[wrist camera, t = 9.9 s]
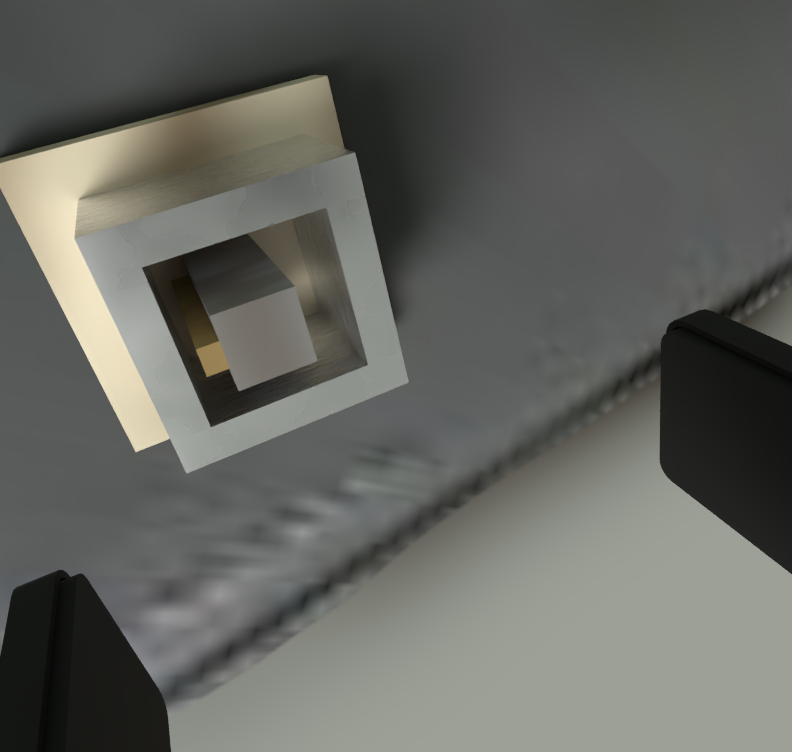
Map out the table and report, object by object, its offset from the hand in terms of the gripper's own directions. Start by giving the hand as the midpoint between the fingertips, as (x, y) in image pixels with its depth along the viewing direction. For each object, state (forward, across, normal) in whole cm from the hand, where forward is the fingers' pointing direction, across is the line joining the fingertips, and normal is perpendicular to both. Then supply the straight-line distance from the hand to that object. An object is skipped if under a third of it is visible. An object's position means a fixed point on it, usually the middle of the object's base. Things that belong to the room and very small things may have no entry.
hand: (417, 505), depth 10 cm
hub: (+14, +1, 0) cm, 14 cm away
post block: (+16, +1, 0) cm, 16 cm away
